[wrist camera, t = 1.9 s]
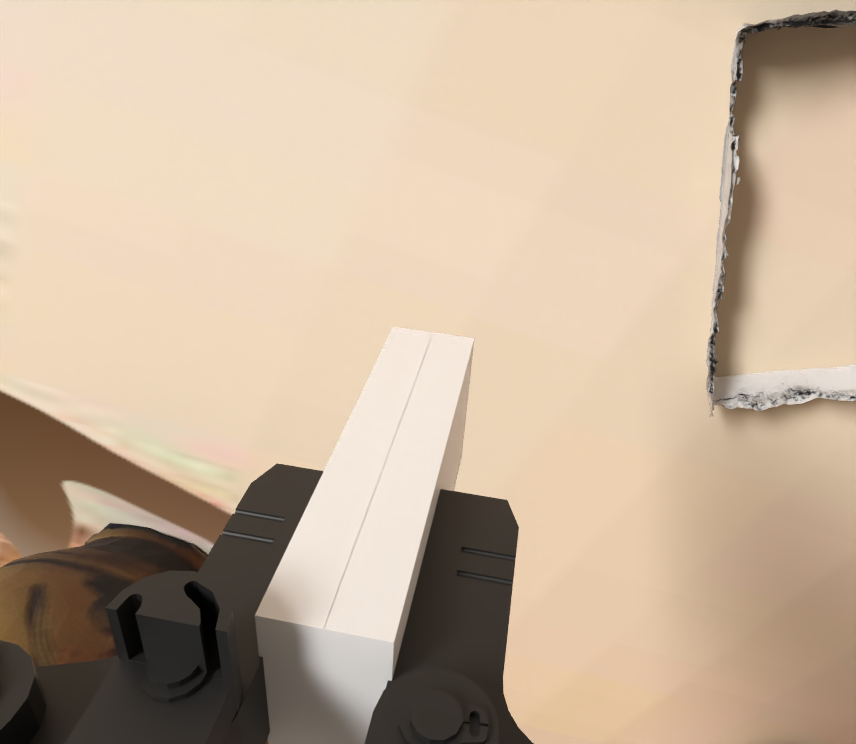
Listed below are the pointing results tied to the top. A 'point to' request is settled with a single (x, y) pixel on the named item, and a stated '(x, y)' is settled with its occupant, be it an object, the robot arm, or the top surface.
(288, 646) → the robot arm
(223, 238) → the top surface
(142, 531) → the ceramic jug
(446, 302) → the top surface
